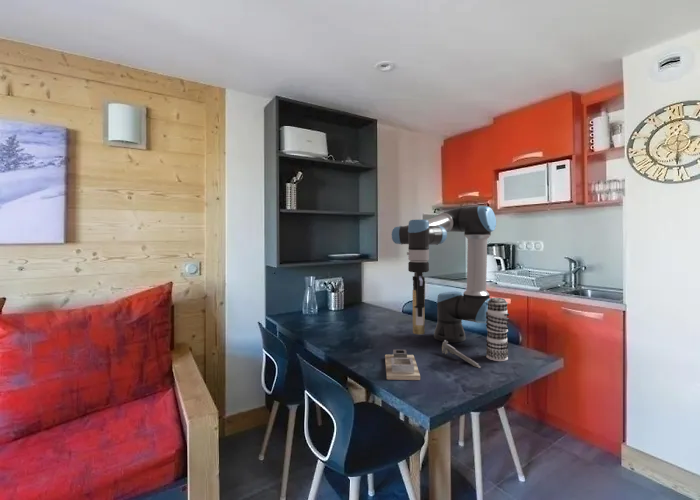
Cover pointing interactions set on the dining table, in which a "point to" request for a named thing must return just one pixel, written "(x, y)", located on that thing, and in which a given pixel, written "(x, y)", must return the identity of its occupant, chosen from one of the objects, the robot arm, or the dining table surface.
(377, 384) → the dining table surface
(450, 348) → the caliper
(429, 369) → the dining table surface
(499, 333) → the decorative candle
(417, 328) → the brass cylinder
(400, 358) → the fitting board
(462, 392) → the dining table surface
